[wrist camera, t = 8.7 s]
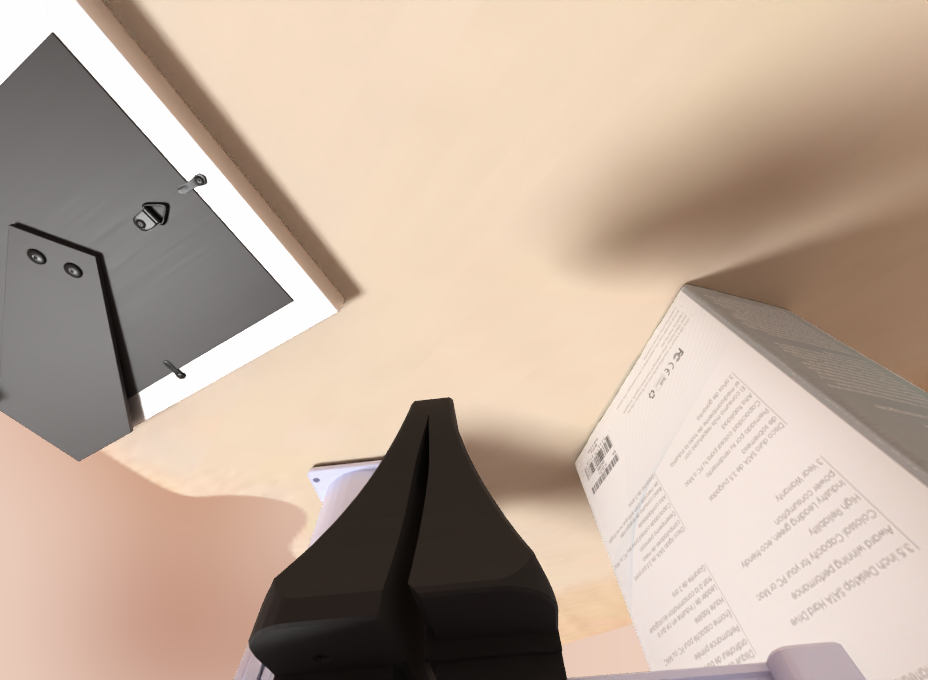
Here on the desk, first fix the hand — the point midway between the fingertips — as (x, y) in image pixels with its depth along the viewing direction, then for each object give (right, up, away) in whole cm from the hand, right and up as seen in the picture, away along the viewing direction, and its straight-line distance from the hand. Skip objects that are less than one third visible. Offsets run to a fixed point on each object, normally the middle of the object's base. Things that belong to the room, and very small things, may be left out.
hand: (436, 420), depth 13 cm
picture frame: (-19, +7, +7) cm, 21 cm away
